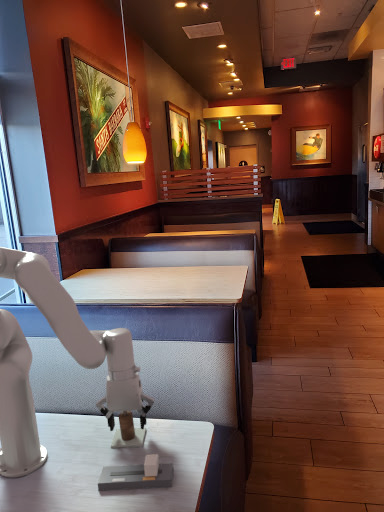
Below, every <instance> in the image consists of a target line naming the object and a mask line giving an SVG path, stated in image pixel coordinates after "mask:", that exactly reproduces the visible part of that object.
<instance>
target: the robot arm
mask: <svg viewBox="0 0 384 512" xmlns="http://www.w3.org/2000/svg"><path fill="white" fill-rule="evenodd" d="M0 278H2V279H8V280H14V281H15V283H16V285H18V287H19V288H20V289H21V291H22V292H23V293H24V294H25V296H26V297H27V298H28V299H29V300H30V301H31V303H32V304H33V305H34V306H35V308H37V309H38V310H39V312H40V313H41V314H42V316H43V317H44V318H45V319H46V321H47V323H48V326H49V327H50V328H51V329H52V331H53V333H54V334H55V336H56V337H57V339H58V340H59V341H60V343H61V344H62V347H64V349H65V351H66V352H68V354H69V355H70V356H71V357H72V359H74V360H75V362H76V363H77V364H78V365H79V366H80V367H82V368H84V369H86V370H95V369H98V368H100V367H101V365H103V364H104V362H105V360H106V364H107V372H108V374H107V376H106V384H105V385H106V386H105V390H106V391H105V393H106V394H105V396H104V397H102V398H101V399H99V400H98V401H97V402H96V403H95V407H96V408H97V409H98V411H100V413H101V414H102V415H103V416H105V419H107V420H106V421H107V427H109V430H110V432H112V431H114V428H115V425H116V422H115V416H114V415H115V414H114V412H123V411H131V412H132V411H136V412H138V414H139V422H140V428H141V429H144V428H145V426H146V425H147V413H149V412H150V410H151V408H152V407H153V406H154V404H155V398H153V397H151V396H149V395H147V394H145V393H143V385H142V381H141V377H140V374H139V372H141V366H136V362H135V356H134V347H133V345H134V344H133V336H132V332H131V331H130V329H129V328H125V327H118V328H113V329H109V330H104V329H103V330H95V329H93V330H90V329H89V328H88V327H87V325H86V323H85V322H84V321H83V319H82V316H81V315H80V313H79V310H78V308H77V304H76V302H75V300H74V298H73V297H72V296H71V295H70V293H69V292H68V291H67V289H66V288H65V287H64V286H63V285H62V283H61V282H60V281H59V280H58V278H57V277H56V275H54V272H52V271H51V265H50V262H49V261H48V259H47V258H46V257H45V256H43V255H41V254H38V253H36V252H32V251H31V252H30V251H24V250H20V249H13V248H7V247H3V246H0ZM32 362H33V353H32V349H31V346H30V345H29V342H28V340H27V338H26V336H25V334H24V332H23V329H22V328H21V325H20V323H19V321H18V319H17V318H16V317H15V315H14V314H13V313H12V312H11V311H9V310H7V309H4V308H0V446H1V447H0V475H1V476H2V477H5V478H9V479H10V478H12V479H13V478H19V477H23V476H26V475H30V474H32V473H34V472H35V471H36V470H38V469H39V468H41V467H42V466H43V465H44V464H45V462H46V461H47V458H48V450H47V448H46V447H45V446H43V445H42V444H41V441H40V436H39V435H40V434H39V429H38V423H37V415H36V409H35V403H34V402H35V401H34V396H33V392H32V387H31V382H30V369H31V366H32ZM143 402H146V403H147V404H146V405H144V404H143ZM105 403H106V406H104V404H105Z"/></svg>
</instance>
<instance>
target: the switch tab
mask: <svg viewBox="0 0 384 512" xmlns="http://www.w3.org/2000/svg"><path fill="white" fill-rule="evenodd" d="M159 464H160V463H159V454H158V453H155V454H146V455H145V457H144V471H145V477H146V476H157V474H158V467H159Z"/></svg>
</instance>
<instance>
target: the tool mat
mask: <svg viewBox="0 0 384 512" xmlns="http://www.w3.org/2000/svg"><path fill="white" fill-rule="evenodd" d="M134 429H135V437H134V438H133V439H132V440H129V441H124V440H122V437H121V430H120V428H118V429H116V430H115V432H114V435H113V438H112V441H111V444H110V448H111V449H113V448H114V449H115V448H133V447H134V448H135V447H137V448H138V447H143V445H144V440H145V435H146V431H147V428H146V427H144V429H141V427H139V428H137V427H136V428H135V427H134Z"/></svg>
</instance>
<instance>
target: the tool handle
mask: <svg viewBox="0 0 384 512" xmlns="http://www.w3.org/2000/svg"><path fill="white" fill-rule="evenodd" d="M118 422H119V423H118V424H119V429H120V430H121V437H122V440H124V441H129V440H132V439H133V438H134V437H135V429H134V428H135V421H134V416H133V412H132V411H120V413H119V414H118Z"/></svg>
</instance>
